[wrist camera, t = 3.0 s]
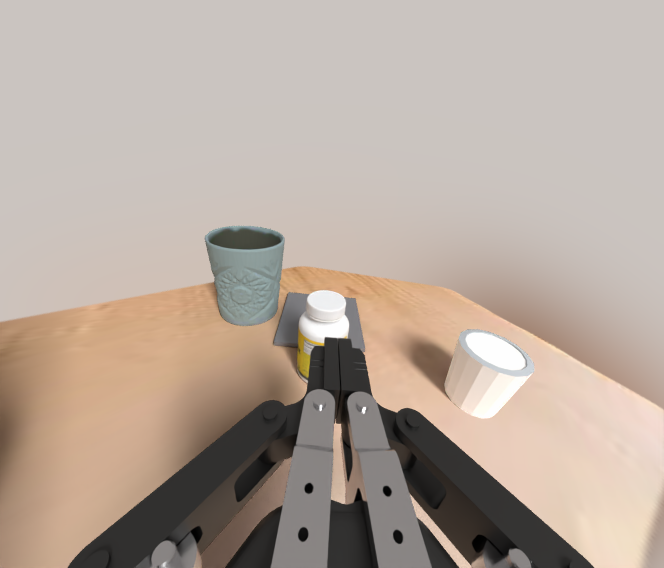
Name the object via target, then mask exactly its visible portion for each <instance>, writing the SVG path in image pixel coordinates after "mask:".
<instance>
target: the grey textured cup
mask: <svg viewBox="0 0 664 568" xmlns="http://www.w3.org/2000/svg"><path fill="white" fill-rule="evenodd" d="M205 242H206V246H207V251H208V255H209V260H210V263H211V269H212V272H213V274H214V277H215V281H214V284H215V286H216V290H217V293H218V294H217V300H218V306H219V310H220V314H221V316H222V318H223V319H224V320H225V321H227V322H229V323H231V324H234V325H240V326H252V325H258V324H261V323H264V322H266V321H268V320H270V319H271V318H272V317H273V316H274V315H275V314H276V312H277V309H278V298H279V289H280V283H279V282H280V279H281V271H282V260H283V250H284V237H283V235H281V234H280V233H278V232H276V231H273V230H271V229H267V228H262V227H254V226H231V227H230V226H229V227H223V228H218V229H215V230H212V231H211V232H209V233H208V234H207V235H206V236H205Z"/></svg>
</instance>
